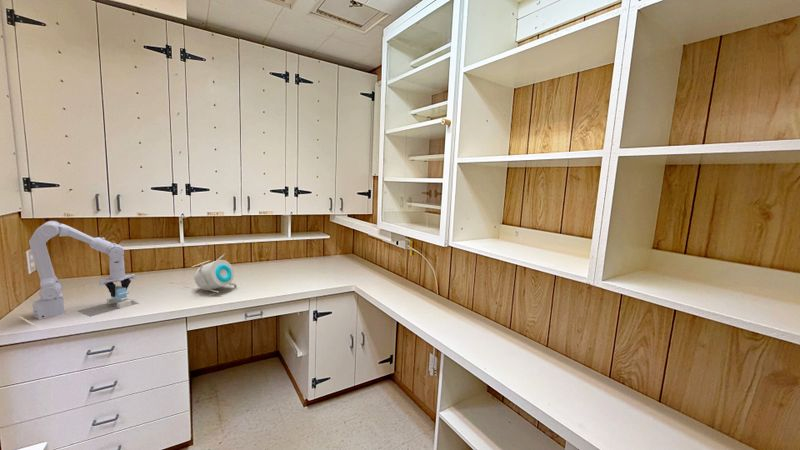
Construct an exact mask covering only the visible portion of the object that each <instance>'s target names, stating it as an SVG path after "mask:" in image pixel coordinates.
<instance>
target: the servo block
mask: <svg viewBox="0 0 800 450" xmlns="http://www.w3.org/2000/svg"><path fill="white" fill-rule="evenodd" d="M108 292H109V293H110V291H109V290H108ZM128 294H129V292H128V291H126V288H125V287H122V286H121V285H116V286H115V297H112V296H111V295H110V298H114V299H117V300H118V299H121V300H122V299H126V298H128Z"/></svg>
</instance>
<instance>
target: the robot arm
mask: <svg viewBox="0 0 800 450" xmlns="http://www.w3.org/2000/svg"><path fill="white" fill-rule="evenodd" d="M57 235H58V237H70V238H72V239H75V240H78V241H82V242H83V243H86V244H88V245H89V248H91V249H93V250H96V251H98V252H100V253H103V254H107V255H108V257H109V261H108V264H109V277H108V278H104V279H101V280H98V285H99V286H104V285H105V286H106V288H107V290H108V292H109V291H110V292H109V294H110V297H111V296H112V297H115V286H117V285H116V282H120V286H122V287H125V288H126V292H128V291H127V290H128V288H129V286H130V284H131V282H132V280H131V279H136V274H135V273H132V274H126V269H125V256H124V255H125V250H124V247H123V246H122V245H120V244H117V243H115V242H111V241H109V240H106V238H105V237H104V236H102V237H99V236H98V237H94V236H91V235H89V234H86V233H84V232H82V231H80V230H78V229H76V228H74V227H72V226H69V225H67V224H64V223H60V222H59V221H57V220H49V221H46V222H44V223H43V224H42V225H40V226H38V227H37V228H36V229H35V231H34V232H33V234H32V236H31V238H30V239H29V241H28V245H29V247H30V251H31V254H32V259H33V260H34V264H35V268H36V271H37V274H38V277H39V282H40V283H39V286H40V291H39V296H40V298H39V299H37V300H35V301H33V302H32V312H33V313H32V314H33V317H34V318H36V319H38V321H39V320H44V319H47V318H52V317H57V316H61V315H63V314H64V313H65V301H64V294H63V293H62V292H61V291H62V290H63V288H64V287H63V284H62V283H61V282H60V281H59V280H58V277H57V275H56V273H55V270H54V266H53V264H52V260H51V257H50V254H49V253H50V252H49V250H48V247H47V242H48V241H49V240H50V239H53V238H54V237H56V236H57Z"/></svg>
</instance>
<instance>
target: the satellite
mask: <svg viewBox="0 0 800 450" xmlns="http://www.w3.org/2000/svg"><path fill="white" fill-rule="evenodd" d="M223 257H225V253H223V254H222V255H221V256H219V258H217V260H215V261H212V262H211V259H209V260H206V261H203V262H200V263H198V264H195V265H193V266H191V268H193V267H196V266H199V265H200V267H198V268H197V270H195V272H194V273H195V274H194V282H195V284H196V285H197V287H198V288H200V289H201V290H202V291H210V292H214V293H212V294H210V296H211V295H215V294H217V293H218V294H219V292H221V290H216V289H219V288H222V287H226V286H237V285H238V284H237V283H236V282H233V280H234V277H235V270H234V267H233V265H232V264H231V263H230V262H229V261H227V260H225V259H222V258H223ZM206 263H207V264H206ZM232 282H233V283H232Z"/></svg>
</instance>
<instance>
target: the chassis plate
mask: <svg viewBox="0 0 800 450" xmlns="http://www.w3.org/2000/svg"><path fill="white" fill-rule="evenodd" d="M137 304H138V305H139V304H140V302H138V301H134V300H132V299H128V297H126V298H122V299H118V300H117V299H114V298H111V297H108V298H106V303H102V304H98V305H95V306H90V307H87V308H83V309H80V310H77V312H78V313H80V314H81V313H82V314H83V315H86V316H88V317H94V316H99V315H101V314H105V313H109V312H112V311H115V310H120V309H123V308H127V307H131V306H135V305H137Z"/></svg>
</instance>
